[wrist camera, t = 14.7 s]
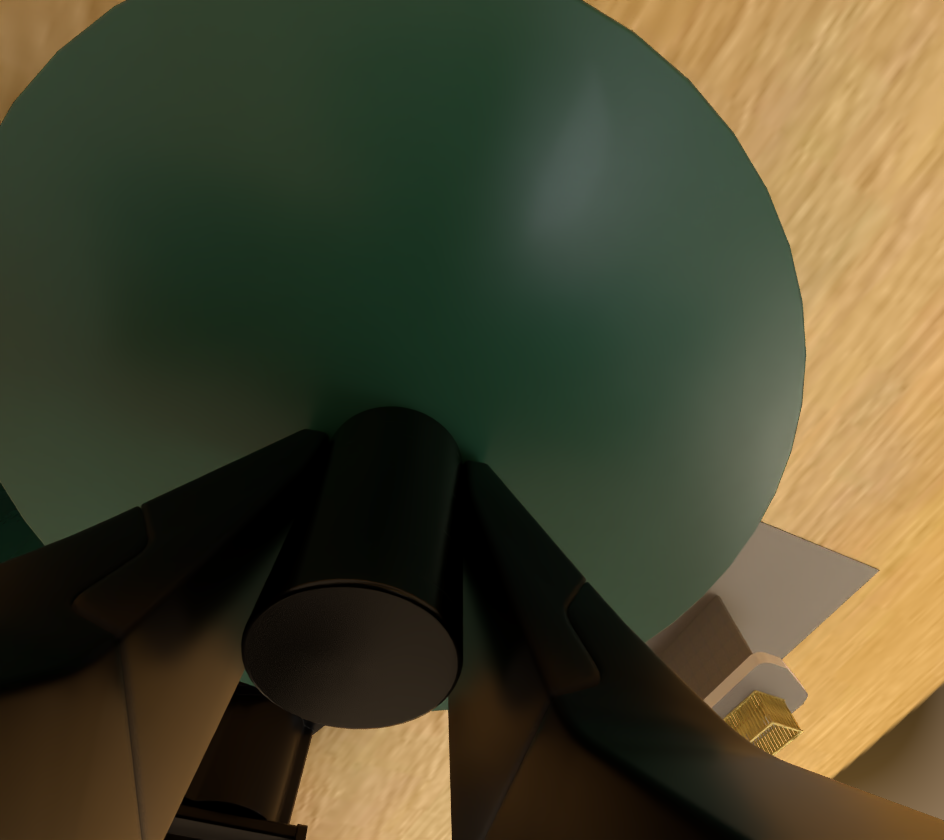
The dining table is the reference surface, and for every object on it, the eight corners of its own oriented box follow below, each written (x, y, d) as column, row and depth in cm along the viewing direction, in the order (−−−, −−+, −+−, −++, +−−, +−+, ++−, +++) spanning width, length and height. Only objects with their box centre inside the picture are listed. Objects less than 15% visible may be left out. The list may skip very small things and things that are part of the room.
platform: (879, 570, 27) (992, 683, 21) (681, 750, 35) (725, 870, 29) (697, 495, 25) (769, 600, 19) (526, 707, 32) (540, 829, 26)
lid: (944, 285, 9) (1448, 421, 4) (524, 728, 14) (552, 987, 10) (81, -332, 6) (-1606, -2495, 1) (-28, 553, 11) (-359, 823, 7)
